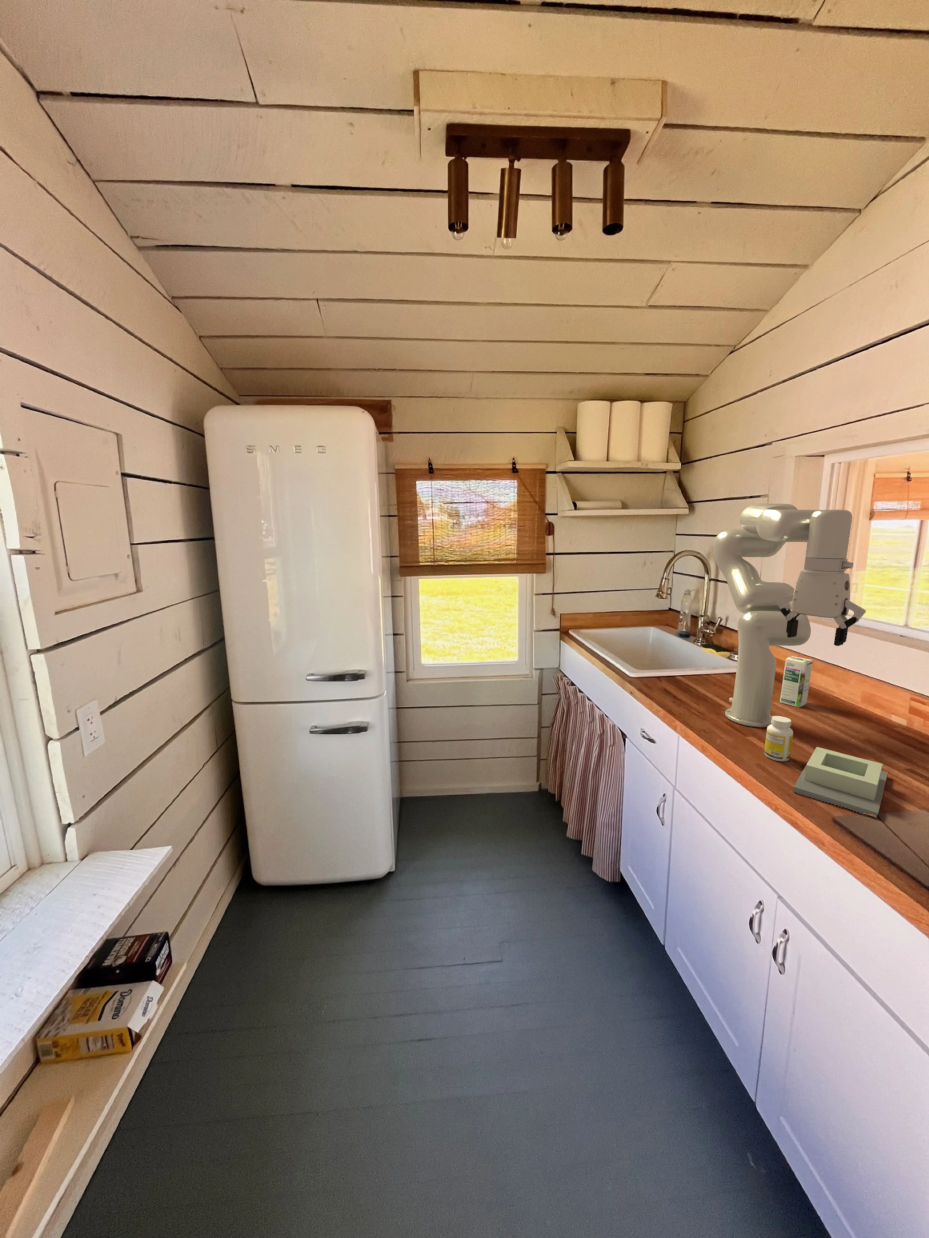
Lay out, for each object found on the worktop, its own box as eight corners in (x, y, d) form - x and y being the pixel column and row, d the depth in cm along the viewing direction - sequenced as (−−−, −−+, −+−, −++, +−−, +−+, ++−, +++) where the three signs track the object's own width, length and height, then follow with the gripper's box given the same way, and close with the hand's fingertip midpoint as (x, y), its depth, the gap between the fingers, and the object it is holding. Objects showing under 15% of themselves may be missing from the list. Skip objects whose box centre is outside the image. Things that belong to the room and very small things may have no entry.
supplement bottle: (780, 751, 126) (785, 714, 124) (794, 762, 121) (800, 723, 119) (758, 751, 126) (763, 714, 124) (772, 762, 120) (777, 723, 118)
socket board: (877, 818, 98) (881, 796, 97) (792, 791, 107) (795, 771, 106) (886, 776, 114) (890, 757, 113) (812, 756, 123) (815, 738, 122)
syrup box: (778, 702, 159) (785, 658, 156) (787, 698, 162) (793, 655, 159) (799, 708, 154) (806, 662, 151) (807, 704, 158) (813, 659, 155)
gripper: (878, 568, 108) (866, 646, 111) (791, 563, 122) (782, 632, 125) (863, 569, 104) (851, 650, 107) (775, 564, 118) (766, 635, 121)
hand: (814, 640), depth 116 cm, fingers open, 9 cm apart
